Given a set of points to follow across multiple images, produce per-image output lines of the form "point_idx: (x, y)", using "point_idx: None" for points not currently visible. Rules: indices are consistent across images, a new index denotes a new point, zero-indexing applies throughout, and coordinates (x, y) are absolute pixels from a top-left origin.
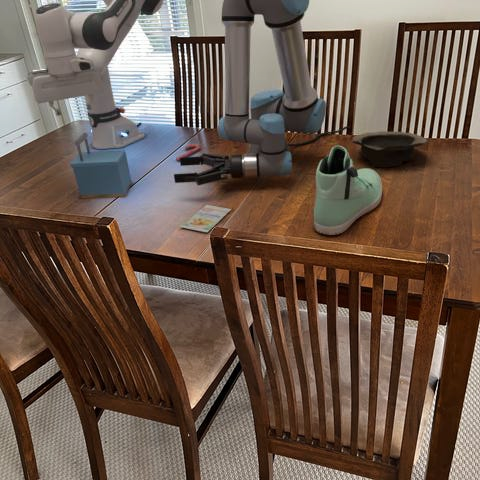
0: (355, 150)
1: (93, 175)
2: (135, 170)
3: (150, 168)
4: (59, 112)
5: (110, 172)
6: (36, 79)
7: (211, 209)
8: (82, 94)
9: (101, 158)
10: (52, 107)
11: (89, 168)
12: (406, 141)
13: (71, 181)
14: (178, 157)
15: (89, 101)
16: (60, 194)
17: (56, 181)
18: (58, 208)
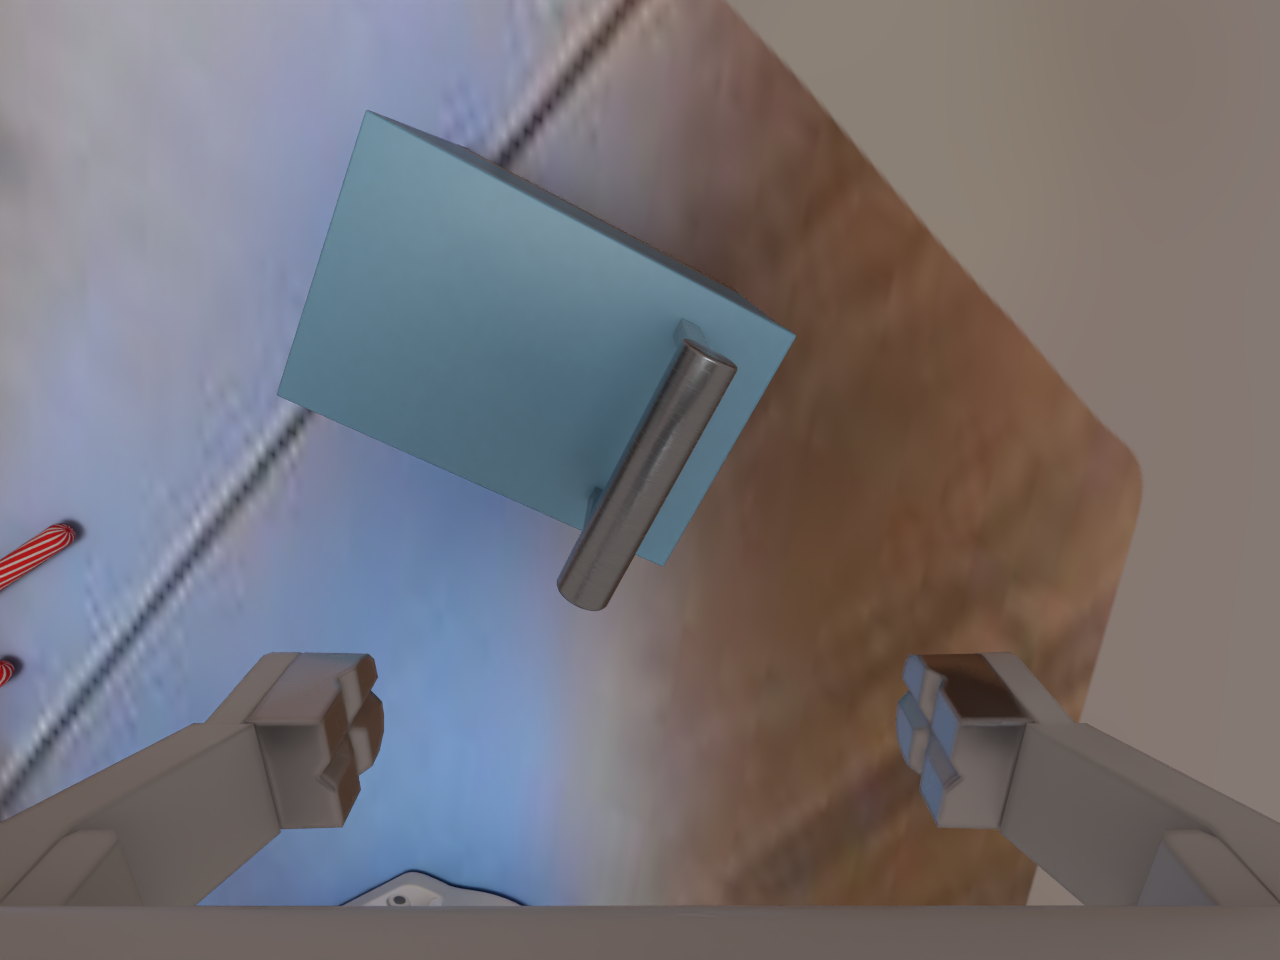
0: None
1: (623, 238)
2: (355, 531)
3: (258, 512)
4: (956, 680)
5: (478, 162)
6: None
7: None
8: (165, 955)
9: (507, 295)
10: (1170, 778)
11: (640, 250)
12: None
13: (743, 573)
14: (44, 537)
15: (213, 821)
16: (838, 421)
17: (821, 618)
18: (894, 207)
